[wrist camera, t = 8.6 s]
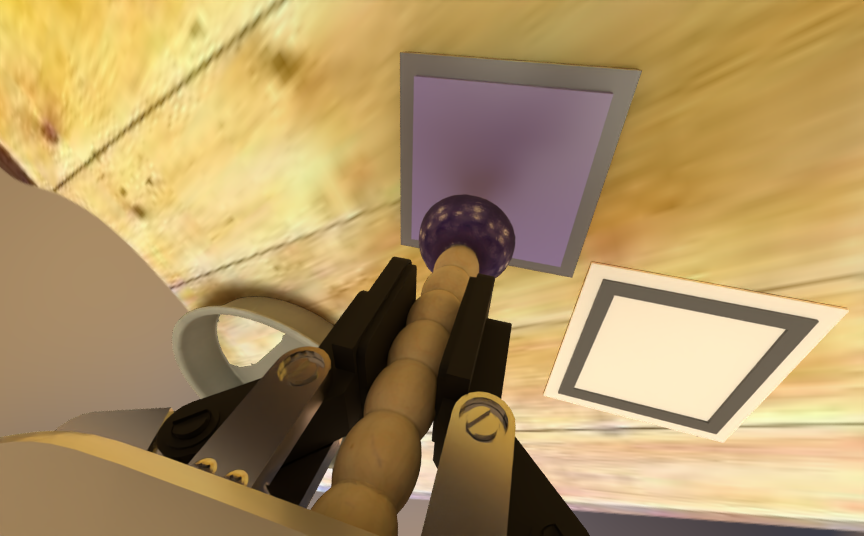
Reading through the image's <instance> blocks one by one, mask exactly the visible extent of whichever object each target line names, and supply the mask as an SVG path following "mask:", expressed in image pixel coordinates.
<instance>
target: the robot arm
mask: <svg viewBox="0 0 864 536" xmlns="http://www.w3.org/2000/svg"><path fill="white" fill-rule="evenodd" d="M416 275H417V267H416V265H412V262H411V260H409V259H404V258H399V257H393V258H392V259H391V260H390V262H389V263H388V265H387V266H386V267H385V269H384V270H383V272H382V273H381V274H380V276H379V277H378V279H377V280H376V282H375V283H374V284H373V286H372V287H371V289H370V290H369V291H360V292H359V293H358V294H357V296H356V297H355V298H354V300H353V301H352V302H351V304H350V305H349V306H348V308H347V309H346V310H345V312H344V313H343V315H342V316H341V317H340V319H339V320H338V321H337V323H336V324H335V325H334V327H333V328H332V329H331V331H330V332H329V333H328V335H327V336H326V337H325V339H324V340H323V341H322V343H321V344H320V346H319V347H318V348H317V347H311V346H306V347H299V348H296V349H292V350H290V351H288V352H287V353H285V354H283V355H282V356H281V357H280V358H279V359H278V360H277V361H276V362H275V363H274V364H273V365H272V366H271V368H270V369H269V370H268V371H267V372H266V373H265V375H264V376H263V377H262V378H260V379H257V380H254V381H251V382H248V383H246V384H243V385H240V386H237V387H234V388H231V389H228V390H225V391H222V392H220V393H217V394H214V395H211V396H208V397H205V398H202V399H199V400H197V401H194V402H191V403H189V404H187V405H185V406H183V407H181V408H180V409H178V410H177V411H173V410H172V408H171V407H168V408H151V409H134V410H117V411H101V412H91V413H86V414H82V415H80V416H77V417H75V418H73V419H70V420H69V421H67V422H66V423H64V424H63V425H61V426H59V427H58V428H57V429H56V430H55V431H40V432H30V433H21V434H15V435H9V436H4V437H0V536H379V535H376V534H374V533H371V532H368V531H366V530H363V529H360V528H357V527H355V526H352V525H349V524H347V523H344V522H341V521H339V520H336V519H333V518H330V517H328V516H325V515H322V514H320V513H317V512H314V511H312V510H309V509H307V507H308V505H309V503H310V501H311V499H312V497H313V496H314V494H315V492H316V490H317V488H318V486H319V484H320V482H321V480H322V479H323V477H324V475H325V473H326V471H327V469H328V467H329V465H330V463H331V461H332V460H333V458H334V456H335V454H336V452H337V450H338V448H339V446H340V444H341V441H342V438H343V437H346V436H347V434H348V433H349V432H350V430H351V429H352V428H353V427H354V426H355V425H356V424H357V422H358V421H360V420H361V419H362V418H364V405H365V401H366V397H367V395H368V392H369V390H370V388H371V386H372V384H373V382H374V380H375V379H376V377H377V376H378V375H379V373H380V372H381V371H382V370H383V369H384V368H386V367H387V358H388V353H389V350H390V347H391V345H392V343H393V341H394V339H395V338H396V336H397V335H398V334H399V332H400V331H401V330H402V329H403V328H404V327H406V320H407V316H408V313H409V311H410V309H411V307H412V305H413V304H414V302H415V301H416ZM494 281H495V276H490V275H485V274H480V273H478V274H477V277H471V276H470V278H469V281H468V284H467V287H466V290H465V292H464V295H463V298H462V301H461V304H460V307H459V310H458V313H457V316H456V319H455V322H454V325H453V328H452V330H451V333H450V336H449V339H448V342H447V345H446V348H445V351H444V354H443V357H442V360H441V363H440V367H439V371H438V376H437V387H436V398H435V418H434V421H433V433H432V441H433V442H435V444H434V455H433V461H434V463H435V465H436V467H437V469H438V470H437V474H436V477H435V481H434V485H433V489H432V493H431V497H430V501H429V505H428V509H427V513H426V518H425V521H424V525H423V529H422V533H421V536H590V535H589V533H588V532H587V530H586V529H585V528H584V526H583V525H582V524H581V522H580V521H579V520H578V518H577V517H576V516H575V514H574V513H573V512H572V510H571V509H570V508H569V506H568V505H567V504H566V503H565V501H564V500H563V499H562V497H561V496H560V495H559V493H558V492H557V491H556V489H555V488H554V487H553V486H552V484H551V483H550V482H549V480H548V479H547V478H546V476H545V475H544V474H543V472H542V471H541V470H540V469H539V467H538V466H537V465H536V463H535V462H534V461H533V459H532V458H531V457H530V455H529V454H528V453H527V451H526V450H525V449H524V448H523V446H522V445H521V444H520V442H519V441H518V440H517V438H516V437H515V428H516V427H515V418H514V415H513V413H512V411H511V409H510V408H509V407H508V405H507V404H506V403H505V402H504V401H503V400H501V396H502V389H503V382H504V375H505V368H506V361H507V354H508V347H509V340H510V333H511V326H512V324H511V323H506V322H502V321H498V320H493V319H489V318H488V314H489V308H490V303H491V298H492V292H493V287H494Z"/></svg>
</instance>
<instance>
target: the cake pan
mask: <svg viewBox="0 0 864 536" xmlns="http://www.w3.org/2000/svg"><path fill="white" fill-rule="evenodd" d="M220 314H224V315H233V316H239V317H243V318H247V319H251V320H254V321H257V322H260V323H263V324H265V325H268V326H270V327H272V328H275V329H277V330H279V331H281V332H283V333H285V335H283V338H282V341H281V342H280V343H279V344H278V345H277V346H276V347H275V348H273V349H272V350H271V351H270V352H269V353H268V354H267V355H265V356H264V357H263V358H262V359H261V360H260V361H259V362H257V363H256V364H251V365H252V366H245V367H238V366H234V365H231V364H229V362H228V360H227V359H226V357H225V355H224V354H223V352H222V350H221V347H220V344H219V341H218V336H217V322H218V321H219V320H218V318H219V316H220ZM333 327H334V325H332V324H331V323H329V322H328V321H326V320H325V319H323V318H321V317H320V316H318V315H316V314H314V313H312V312H311V311H309V310H306V309H304V308H302V307H300V306H297V305H294V304H292V303H289V302H286V301H282V300H278V299H274V298H268V297H244V298H239V299H236V300H233V301H231V302H229V303H227V304H225V305H222V306H207V307H201V308H198V309H195V310H192V311H189V312H188V313H186V314H185V315H183V316H182V317H181V318H180V319H179V321H178V322H177V323H176V325H175V327H174V330H173V334H172V347H173V352H174V356H175V359H176V362H177V364H178V366H179V368H180V370H181V372H182V374H183V376H184V377H185V379H186V380H187V382H188V383H189V385H190V386H191V387H192V389H193V390H194V391H195V392H196V394H197V395H198V396H199V397H200V398H201V399H202V398H205V397H208V396H211V395H214V394H217V393H220V392H222V391H225V390H228V389H231V388H234V387H237V386H240V385H243V384H246V383H248V382H251V381H254V380H257V379H260V378H262V377H263V376H264V375H265V373H266V372H267V371H268V370H269V369H270V368H271V366H272V365H273V364H274V363H275V362H276V361H277V360H278V359H279V358H280V357H281V356H282V355H283V354H285V353H287V352H288V351H290V350H292V349H296V348H299V347H306V346H311V347H317V348H318V347H319V346H320V344H321V343H322V341H323V340H324V339H325V337H326V336H327V335H328V333H329V332H330V331H331V329H332V328H333ZM345 438H346V437H343V438H342V441H341V444H340V446H339V448H338V450H337V452H336V454H335V456H334V458H333V460H332V461H331V463H330V465H329V467H328V468H332V469H333V467H334V463H335V460H336V456H337V454H338V451H339V449H340V447H341V445H342V443H343V441H344V439H345Z"/></svg>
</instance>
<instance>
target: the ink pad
mask: <svg viewBox="0 0 864 536" xmlns="http://www.w3.org/2000/svg"><path fill="white" fill-rule="evenodd" d="M641 72H642V71H641V70H639V69H628V68H615V67H602V66H589V65H575V64H562V63H549V62H536V61H522V60H509V59H496V58H483V57H470V56H456V55H443V54H430V53H417V52H400V147H401V245H406V246H411V247H416V248H419V232H420V227H421V223H422V220H423V218H424V216H425V214H426V213H427V212H428V210H429V209H430V208H431V207H432V206H433V205H434V204H435V203H437V202H439V201H441V200H442V199H444V198H447V197H449V196H453V195H463V194H468V195H472V196H477V197H482V198H484V199H487V200H488V201H490V202H492V203H494V204H495V205H497V206H498V207H499V208H500V209H501V210H502V211H503V212H504V213H505V214H506V216H507V217H508V219H509V220H510V223H511V224H512V226H513V229H514V234H515V238H516V239H515V249H514V253H513V256H512V259H511V260H510V262H509V264H508V265H509V266H514V267H520V268H525V269H530V270H535V271H540V272H545V273H551V274H556V275H561V276H566V277H571V278H572V276H573V274H574V271H575V268H576V265H577V262H578V259H579V256H580V253H581V250H582V247H583V244H584V241H585V238H586V235H587V232H588V229H589V226H590V223H591V220H592V217H593V214H594V211H595V208H596V205H597V202H598V199H599V196H600V193H601V191H602V188H603V185H604V182H605V179H606V176H607V173H608V170H609V167H610V164H611V161H612V158H613V155H614V152H615V149H616V146H617V143H618V140H619V137H620V134H621V131H622V128H623V125H624V122H625V119H626V116H627V113H628V110H629V107H630V105H631V102H632V99H633V96H634V93H635V90H636V87H637V84H638V81H639V78H640V75H641Z"/></svg>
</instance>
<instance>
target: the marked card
mask: <svg viewBox="0 0 864 536" xmlns="http://www.w3.org/2000/svg"><path fill="white" fill-rule="evenodd" d="M848 311H849V310H848V309H847V308H843V307H837V306H832V305H826V304H821V303H816V302H810V301H805V300H799V299H794V298H788V297H783V296H777V295H772V294H766V293H761V292H755V291H750V290H744V289H739V288H733V287H728V286H722V285H717V284H711V283H706V282H700V281H695V280H689V279H684V278H679V277H673V276H668V275H662V274H657V273H651V272H646V271H640V270H635V269H629V268H624V267H618V266H613V265H607V264H602V263H596V262H591V265H590V268H589V270H588V273H587V276H586V278H585V281H584V284H583V287H582V289H581V292H580V295H579V298H578V300H577V303H576V306H575V309H574V311H573V314H572V317H571V320H570V322H569V325H568V328H567V331H566V333H565V336H564V339H563V342H562V344H561V347H560V350H559V353H558V355H557V358H556V361H555V364H554V366H553V369H552V372H551V374H550V377H549V380H548V383H547V385H546V388H545V391H544V394H543V396H547V397H551V398H555V399H558V400H562V401H566V402H570V403H574V404H577V405H581V406H585V407H589V408H593V409H596V410H600V411H604V412H608V413H612V414H616V415H619V416H623V417H627V418H631V419H635V420H638V421H642V422H646V423H650V424H654V425H657V426H661V427H665V428H669V429H673V430H677V431H680V432H684V433H688V434H692V435H696V436H699V437H703V438H707V439H711V440H715V441H718V442H722V443H724V442H725V441H726V440H727V438H728V437H729V436H730V435H731V434H732V433H733V432H734V431H735V430H736V429H737V428H738V427H739V426H740V425H741V424H742V423H743V422H744V421H745V420H746V419H747V417H748V416H749V415H750V414H751V413H752V412H753V411H754V410H755V409H756V408H757V407H758V406H759V405H760V404H761V403H762V402H763V401H764V400H765V399H766V398H767V396H768V395H769V394H770V393H771V392H772V391H773V390H774V389H775V388H776V387H777V386H778V385H779V384H780V383H781V382H782V381H783V380H784V379H785V378H786V377H787V375H788V374H789V373H790V372H791V371H792V370H793V369H794V368H795V367H796V366H797V365H798V364H799V363H800V362H801V361H802V360H803V359H804V358H805V357H806V356H807V354H808V353H809V352H810V351H811V350H812V349H813V348H814V347H815V346H816V345H817V344H818V343H819V342H820V341H821V340H822V339H823V338H824V337H825V336H826V335H827V333H828V332H829V331H830V330H831V329H832V328H833V327H834V326H835V325H836V324H837V323H838V322H839V321H840V320H841V319H842V318H843V317H844V316H845V315H846V314H847V313H848Z"/></svg>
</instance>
